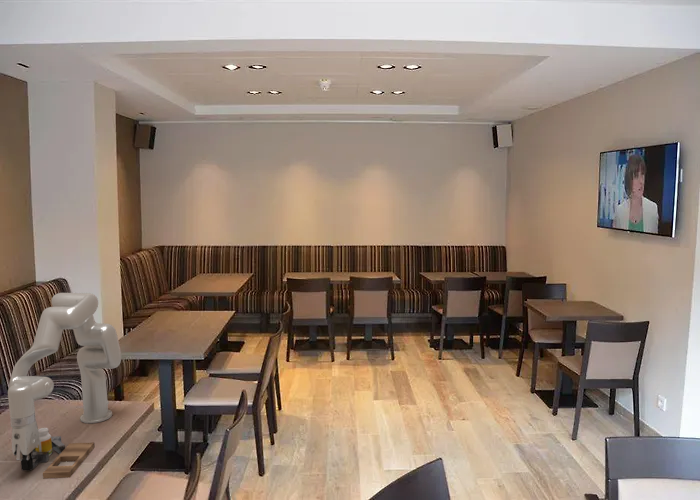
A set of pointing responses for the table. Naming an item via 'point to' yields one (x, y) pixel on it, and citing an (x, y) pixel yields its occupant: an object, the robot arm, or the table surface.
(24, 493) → the table surface
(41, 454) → the gray tee-shaped block
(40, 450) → the supplement bottle
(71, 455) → the block with square hole
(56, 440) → the vee block
